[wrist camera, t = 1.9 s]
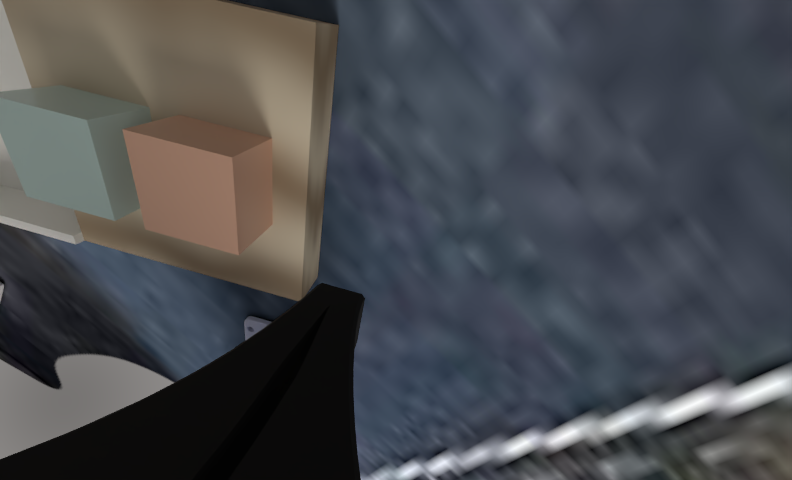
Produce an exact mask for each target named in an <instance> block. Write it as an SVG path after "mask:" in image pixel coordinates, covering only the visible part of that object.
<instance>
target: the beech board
mask: <svg viewBox="0 0 792 480" xmlns="http://www.w3.org/2000/svg"><path fill="white" fill-rule="evenodd" d="M1 1H2V4H3V7H4V9H5V12H6V15H7V18H8V21H9V24H10V27H11V30H12V33H13V35H14V38H15V41H16V44H17V47H18V50H19V53H20V56H21V59H22V61H23V64H24V67H25V70H26V73H27V76H28V79H29V82H30V85H31V88H39V87H48V86H57V85H63V86H67V87H71V88H75V89H79V90H83V91H87V92H91V93H95V94H99V95H103V96H107V97H111V98H115V99H119V100H123V101H127V102H131V103H134V104H138V105H142V106H146V107H149V109H150V114H151V120H152V122H153V121H157V120H161V119H165V118H169V117H173V116H176V115H182V116H186V117H190V118H194V119H198V120H202V121H206V122H210V123H214V124H218V125H222V126H226V127H230V128H234V129H238V130H242V131H246V132H250V133H254V134H258V135H262V136H266V137H270V138H272V200H273V225H272V226H270V227H269V228H268V229H267V230H266V231H265V232H264V233H263V234H262V235H261V236H260V237H258V238H257V239H256V240H255V241H254V242H253V243H252V244H251V245H250V246H249V247H248V248H246V249H245V250H244V251H243V252H242V253H241V254H240V255H235V254H232V253H228V252H224V251H221V250H217V249H214V248H210V247H207V246H203V245H199V244H196V243H192V242H189V241H185V240H181V239H178V238H174V237H171V236H167V235H163V234H160V233H156V232H153V231H149V230H146V229H145V226H144V221H143V217H142V213H141V208H140V209H138V210H136V211H134V212H132V213H130V214H128V215H126V216H124V217H122V218H120V219H118V220H116V221H113V220H110V219H106V218H102V217H99V216H95V215H92V214H88V213H85V212H81V211H77V210H74V212H75V215H76V218H77V221H78V223H79V226H80V229H81V232H82V235H83V238H84V240H85V241H89V242H92V243H96V244H99V245H103V246H106V247H110V248H113V249H117V250H120V251H124V252H127V253H131V254H134V255H138V256H141V257H145V258H148V259H152V260H155V261H159V262H162V263H166V264H169V265H173V266H176V267H180V268H183V269H187V270H190V271H194V272H197V273H201V274H204V275H208V276H211V277H215V278H218V279H222V280H225V281H229V282H232V283H236V284H239V285H243V286H246V287H250V288H253V289H257V290H260V291H264V292H267V293H271V294H275V295H278V296H282V297H285V298H289V299H292V300H296V301H300V300H301V299H302V298H303V297H305V295H306V294H307V292H308V291H309V289H310V288H311V286H312V285H313V283H314V282H315V280H316V279H317V277H318V267H319V255H320V243H321V231H322V219H323V207H324V195H325V183H326V171H327V159H328V147H329V135H330V123H331V112H332V100H333V88H334V76H335V64H336V52H337V40H338V28H339V25H336V24H331V23H327V22H322V21H318V20H313V19H309V18H304V17H300V16H295V15H291V14H287V13H282V12H278V11H273V10H269V9H264V8H260V7H255V6H251V5H246V4H242V3H237V2H233V1H228V0H1Z"/></svg>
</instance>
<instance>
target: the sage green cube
mask: <svg viewBox="0 0 792 480" xmlns="http://www.w3.org/2000/svg"><path fill="white" fill-rule="evenodd" d="M149 122H152V120H151V114H150V109H149V107H146V106H142V105H138V104H134V103H131V102H127V101H123V100H119V99H115V98H111V97H107V96H103V95H99V94H95V93H91V92H87V91H83V90H79V89H75V88H71V87H67V86H63V85H57V86H48V87H39V88H29V89H20V90H11V91H2V92H0V134H1V136H2V139H3V141H4V144H5V146H6V148H7V151H8V153H9V156H10V158H11V160H12V163H13V165H14V168H15V170H16V172H17V175H18V177H19V180H20V182H21V184H22V187H23V189H24V191H25V194H26V196H27V197H31V198H34V199H38V200H41V201H45V202H49V203H52V204H56V205H59V206H63V207H67V208H70V209H74V210H77V211H81V212H85V213H88V214H92V215H95V216H99V217H102V218H106V219H110V220H113V221H116V220H118V219H120V218H122V217H124V216H126V215H128V214H130V213H132V212H134V211H136V210H138V209H140V204H139V200H138V195H137V191H136V187H135V182H134V178H133V174H132V169H131V165H130V161H129V156H128V152H127V148H126V143H125V139H124V135H123V130H122V129H125V128H129V127H133V126H137V125H141V124H145V123H149Z"/></svg>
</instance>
